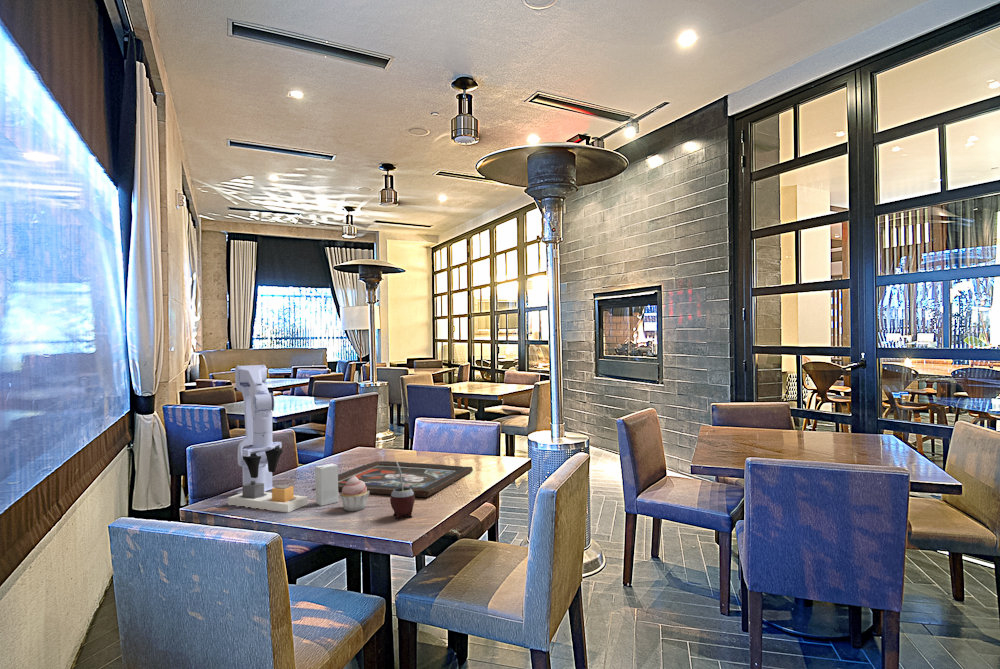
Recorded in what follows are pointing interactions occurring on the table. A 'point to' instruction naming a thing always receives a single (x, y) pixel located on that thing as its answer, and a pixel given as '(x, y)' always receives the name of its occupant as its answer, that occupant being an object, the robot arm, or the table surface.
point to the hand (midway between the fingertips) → (263, 474)
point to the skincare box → (326, 484)
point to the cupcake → (354, 495)
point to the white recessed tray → (268, 502)
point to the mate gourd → (402, 500)
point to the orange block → (282, 493)
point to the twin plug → (253, 490)
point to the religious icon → (404, 477)
